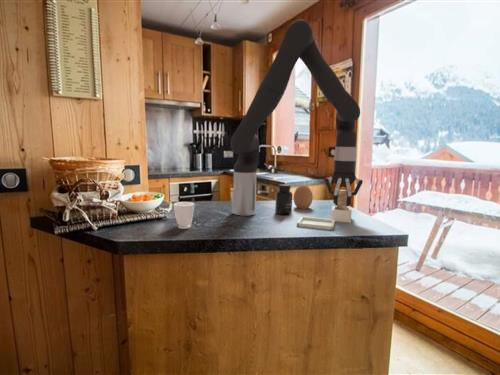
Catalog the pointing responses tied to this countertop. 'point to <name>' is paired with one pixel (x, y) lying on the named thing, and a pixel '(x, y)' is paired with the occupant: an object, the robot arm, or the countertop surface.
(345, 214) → the holder cup
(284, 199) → the supplement bottle
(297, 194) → the egg
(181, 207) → the cup
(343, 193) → the dowel
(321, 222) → the tray
